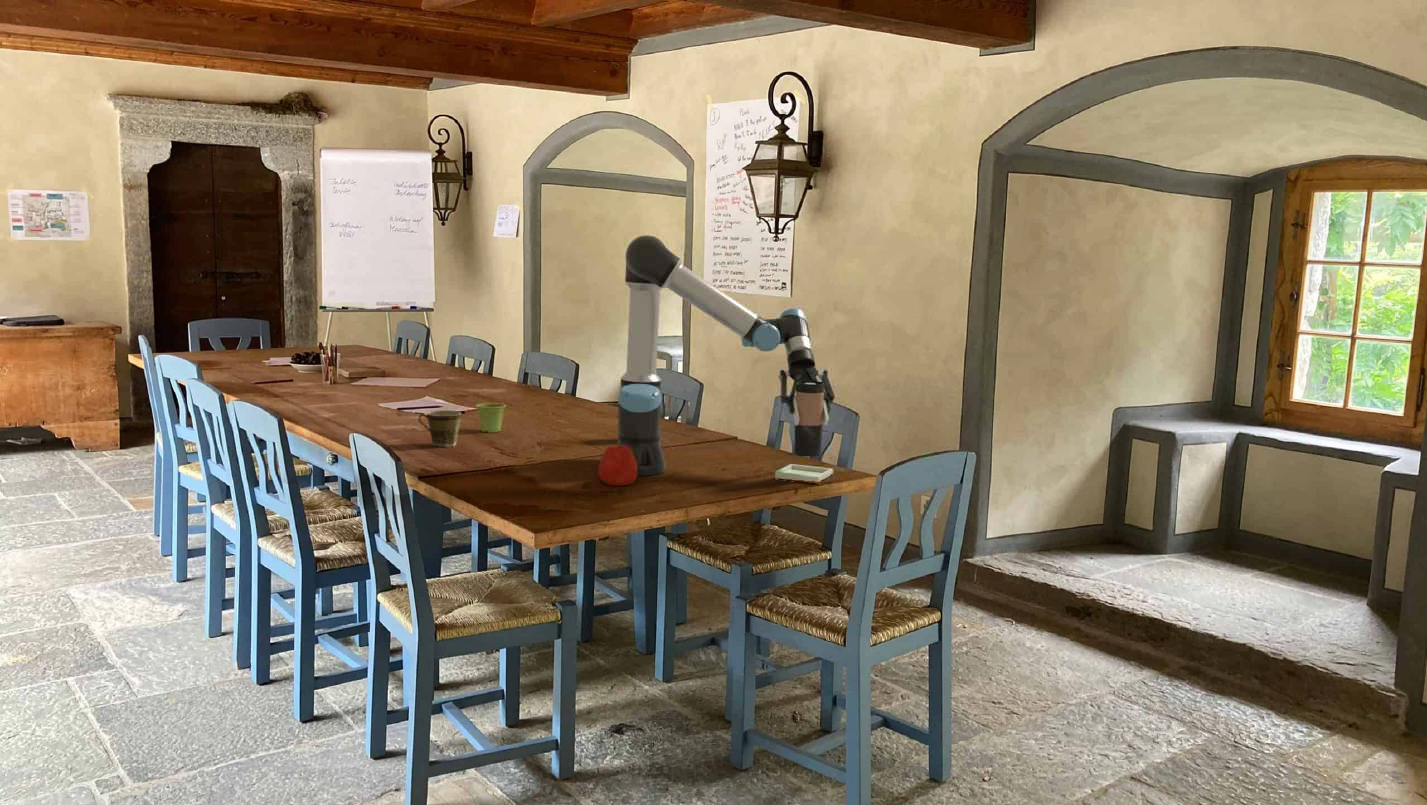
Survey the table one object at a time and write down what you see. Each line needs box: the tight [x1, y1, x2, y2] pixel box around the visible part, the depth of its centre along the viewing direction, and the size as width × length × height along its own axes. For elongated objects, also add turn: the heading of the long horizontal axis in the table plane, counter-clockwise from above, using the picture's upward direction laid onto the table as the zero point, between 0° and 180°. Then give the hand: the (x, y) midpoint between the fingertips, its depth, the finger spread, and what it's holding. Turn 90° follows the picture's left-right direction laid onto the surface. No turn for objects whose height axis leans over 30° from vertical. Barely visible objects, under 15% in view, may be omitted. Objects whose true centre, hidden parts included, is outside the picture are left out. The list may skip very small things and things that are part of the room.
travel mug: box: [794, 380, 825, 458], centre depth 303 cm, size 8×8×20 cm
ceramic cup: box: [418, 410, 462, 448], centre depth 335 cm, size 13×10×10 cm
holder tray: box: [774, 463, 834, 482], centre depth 305 cm, size 12×12×2 cm
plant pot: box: [476, 402, 507, 433], centre depth 360 cm, size 9×9×9 cm
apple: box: [598, 444, 638, 487], centre depth 291 cm, size 10×10×10 cm
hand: (811, 422), depth 299 cm, fingers closed on travel mug, 7 cm apart
